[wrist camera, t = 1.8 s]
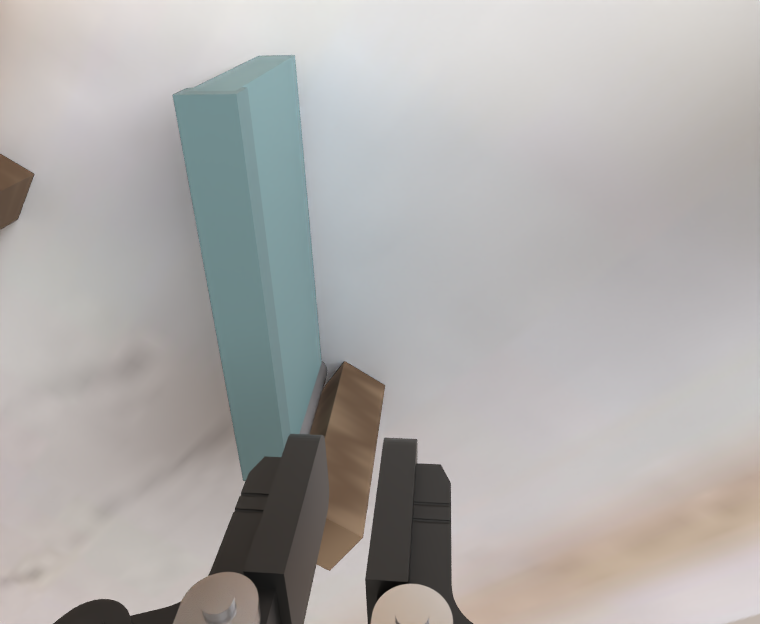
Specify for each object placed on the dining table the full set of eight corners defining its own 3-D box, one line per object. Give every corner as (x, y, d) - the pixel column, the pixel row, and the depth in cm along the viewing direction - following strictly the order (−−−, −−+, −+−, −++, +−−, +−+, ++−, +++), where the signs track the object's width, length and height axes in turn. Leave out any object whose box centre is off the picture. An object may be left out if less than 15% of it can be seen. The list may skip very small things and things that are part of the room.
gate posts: (387, 382, 36) (366, 533, 26) (356, 418, 37) (325, 574, 28) (-25, 134, 31) (-238, 211, 21) (-42, 188, 32) (-246, 282, 23)
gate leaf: (328, 384, 36) (292, 512, 27) (294, 383, 36) (248, 510, 28) (301, 54, 27) (236, 93, 19) (256, 54, 27) (172, 94, 19)
